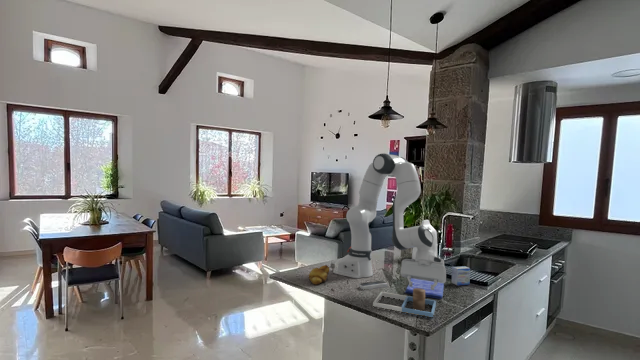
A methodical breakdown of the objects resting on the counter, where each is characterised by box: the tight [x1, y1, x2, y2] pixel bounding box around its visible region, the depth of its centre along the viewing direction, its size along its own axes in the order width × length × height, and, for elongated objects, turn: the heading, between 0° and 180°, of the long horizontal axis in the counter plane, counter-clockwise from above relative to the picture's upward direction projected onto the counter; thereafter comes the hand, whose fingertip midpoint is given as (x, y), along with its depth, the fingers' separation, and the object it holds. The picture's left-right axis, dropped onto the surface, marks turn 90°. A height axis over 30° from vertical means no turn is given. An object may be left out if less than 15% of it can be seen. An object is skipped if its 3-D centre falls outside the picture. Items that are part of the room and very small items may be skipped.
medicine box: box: [451, 265, 471, 286], centre depth 177 cm, size 8×4×9 cm, turn 105°
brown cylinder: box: [412, 288, 426, 311], centre depth 144 cm, size 5×5×8 cm
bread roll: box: [308, 264, 330, 285], centre depth 176 cm, size 13×10×8 cm
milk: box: [411, 219, 438, 260], centre depth 224 cm, size 12×12×26 cm
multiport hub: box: [358, 279, 388, 291], centre depth 169 cm, size 4×14×2 cm, turn 115°
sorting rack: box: [372, 291, 437, 318], centre depth 146 cm, size 24×15×2 cm, turn 66°
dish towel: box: [404, 278, 445, 300], centre depth 169 cm, size 17×24×3 cm
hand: (421, 287), depth 152 cm, fingers open, 8 cm apart
